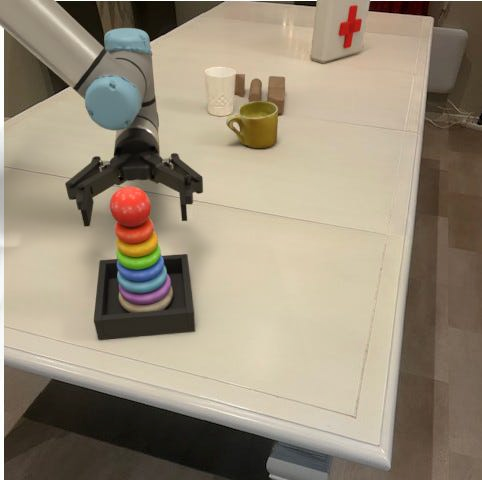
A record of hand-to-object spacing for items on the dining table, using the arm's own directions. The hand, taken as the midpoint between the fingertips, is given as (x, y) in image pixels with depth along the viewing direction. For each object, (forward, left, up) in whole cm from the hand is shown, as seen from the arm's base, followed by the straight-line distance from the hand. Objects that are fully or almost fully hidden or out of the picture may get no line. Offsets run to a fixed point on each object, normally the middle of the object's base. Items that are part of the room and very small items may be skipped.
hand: (135, 215), depth 67 cm
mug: (+25, +50, -13) cm, 57 cm away
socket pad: (0, -4, -13) cm, 14 cm away
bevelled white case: (+66, +115, -13) cm, 133 cm away
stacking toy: (0, -4, -12) cm, 13 cm away
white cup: (+20, +70, -13) cm, 74 cm away
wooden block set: (+30, +76, -13) cm, 83 cm away
